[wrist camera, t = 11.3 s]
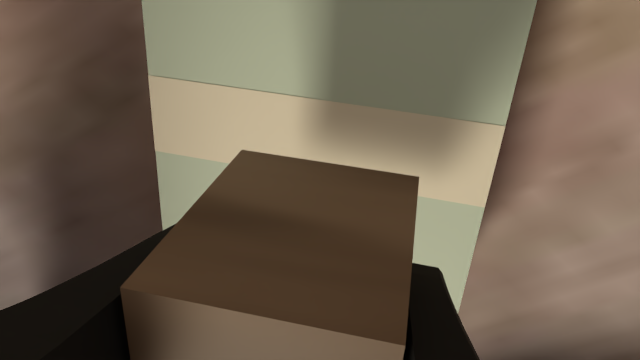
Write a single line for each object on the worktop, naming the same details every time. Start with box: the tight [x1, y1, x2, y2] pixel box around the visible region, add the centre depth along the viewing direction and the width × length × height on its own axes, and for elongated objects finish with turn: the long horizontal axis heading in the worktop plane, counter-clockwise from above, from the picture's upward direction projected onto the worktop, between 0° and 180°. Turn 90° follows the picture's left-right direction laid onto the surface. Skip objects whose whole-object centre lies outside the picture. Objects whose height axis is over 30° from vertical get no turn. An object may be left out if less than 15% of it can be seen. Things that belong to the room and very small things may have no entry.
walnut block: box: [120, 150, 419, 360], centre depth 10 cm, size 4×4×5 cm
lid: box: [142, 0, 537, 313], centre depth 15 cm, size 14×10×1 cm
